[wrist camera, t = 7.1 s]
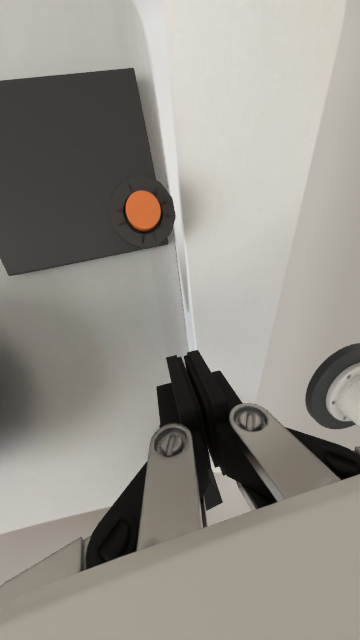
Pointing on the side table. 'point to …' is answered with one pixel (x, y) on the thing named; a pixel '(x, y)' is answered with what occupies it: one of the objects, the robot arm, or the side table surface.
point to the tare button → (143, 210)
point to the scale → (74, 170)
